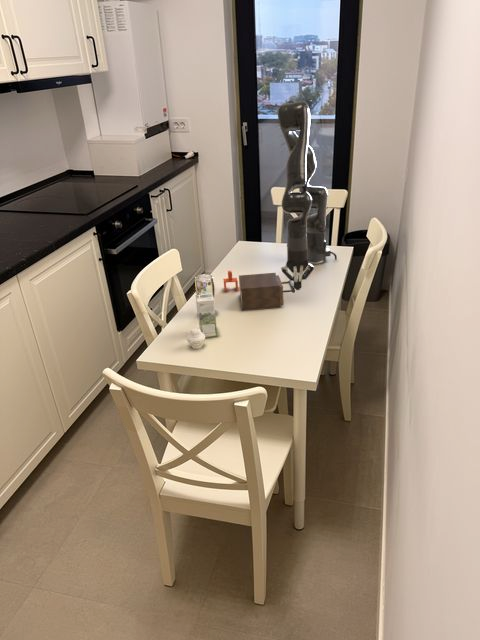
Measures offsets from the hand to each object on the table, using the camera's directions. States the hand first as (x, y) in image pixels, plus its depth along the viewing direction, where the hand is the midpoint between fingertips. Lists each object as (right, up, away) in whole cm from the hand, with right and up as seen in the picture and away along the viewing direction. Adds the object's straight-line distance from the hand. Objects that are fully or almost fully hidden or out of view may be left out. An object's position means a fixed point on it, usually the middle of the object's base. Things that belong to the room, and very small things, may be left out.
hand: (297, 289), depth 194 cm
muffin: (-36, -23, -26) cm, 50 cm away
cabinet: (-15, -5, +1) cm, 16 cm away
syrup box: (-33, -18, -19) cm, 42 cm away
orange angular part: (-27, +1, +11) cm, 29 cm away
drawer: (-11, -4, +1) cm, 11 cm away
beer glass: (-34, -10, -6) cm, 37 cm away
